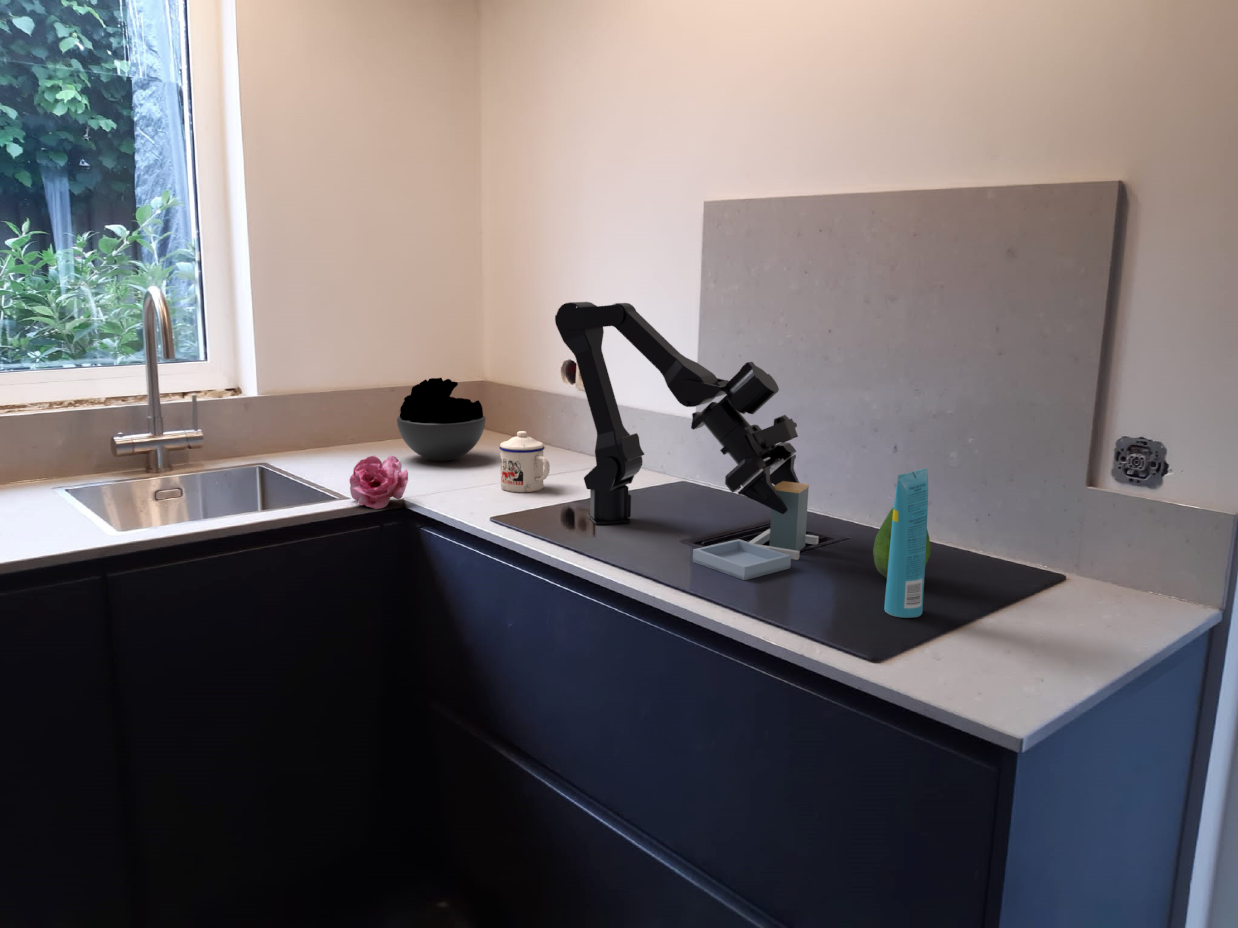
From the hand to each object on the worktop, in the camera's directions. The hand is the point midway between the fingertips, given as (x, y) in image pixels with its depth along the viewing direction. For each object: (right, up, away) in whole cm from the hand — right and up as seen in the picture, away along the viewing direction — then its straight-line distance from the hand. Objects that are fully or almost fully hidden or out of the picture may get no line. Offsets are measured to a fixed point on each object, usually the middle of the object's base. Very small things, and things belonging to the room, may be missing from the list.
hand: (795, 506), depth 154 cm
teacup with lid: (-47, +2, +40) cm, 62 cm away
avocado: (+13, -11, -14) cm, 21 cm away
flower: (-74, -1, +27) cm, 78 cm away
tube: (+9, -13, -27) cm, 31 cm away
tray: (-10, -9, -8) cm, 15 cm away
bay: (-1, -7, +2) cm, 7 cm away
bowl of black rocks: (-69, +8, +67) cm, 97 cm away
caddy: (-1, -7, +2) cm, 7 cm away
